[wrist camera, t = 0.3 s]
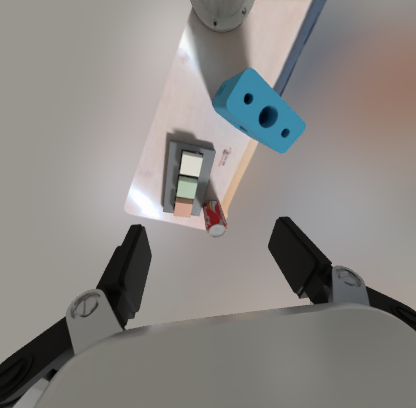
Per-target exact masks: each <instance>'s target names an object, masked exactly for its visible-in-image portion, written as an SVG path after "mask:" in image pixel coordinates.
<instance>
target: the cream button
mask: <svg viewBox="0 0 416 408" xmlns="http://www.w3.org/2000/svg"><path fill="white" fill-rule="evenodd" d="M202 160H203V157H202V155H200V154H195V153H190V152H185V151H183V155H182V162H181V169H180V174H186V175H191V176H197V177H199V174H200V169H201V165H202Z"/></svg>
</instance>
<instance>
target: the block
mask: <svg viewBox="0 0 416 408" xmlns="http://www.w3.org/2000/svg"><path fill="white" fill-rule="evenodd" d="M212 105H213V107H214V109H215V111H216V112H217V113H218V114H219V115H221V116H222V117H223V118H224V119H226V120H227V121H228V122H229V123H231V124H232V125H233V126H234V127H236V128H237V129H239V130H240V131H242V132H243V133H245V134H246V135H248V136H250V137H251V138H253V139H255V140H257V141H259V142H260V143H262V144H264V145H266V146H268V147H270V148H271V149H273V150H275V151H277V152H279V153H284V152H286V151H287V150H288V149H289V148H290V147H291V146H292V144H293V143H294V142H295V141H296V140H297V139H298V137H299V136H300V135H301V134H302V133H303V132H304V130H305V123H304V121H303V120H302V119H301V118H300V117H299V116H298V115H297V114H296V113H295V112H294V111H293V110H292V109H291V108H290V107H289V106H288V105H287V104H286V102H285V101H284V100H283V99H282V98H281V97H280V96H279V95H278V94H277V93H276V92H275V91H274V90H273V89H272V88H271V87H270V86H269V85H268V84H267V82H266V81H265V80H264V79H263V78H262V77H261V76H260V75H259V74H258V73H257V72H256V71H255V70H254V69H252V68H249V69H246V70H245V71H243V72H241V73H239V74H238V75H236V76H234V77H232V78H230V79H229V80H227V81H225V82H224V83H223V84H222V85H221V87H220V89H219V91H218V92H217V94H216V96H215V98H214V99H213V102H212Z"/></svg>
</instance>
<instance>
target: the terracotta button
mask: <svg viewBox="0 0 416 408" xmlns="http://www.w3.org/2000/svg"><path fill="white" fill-rule="evenodd" d="M192 206H193V199H187V198H180V197H176V203H175V210H174V216H180V217H189V218H190V215H191V211H192Z"/></svg>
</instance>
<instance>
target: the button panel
mask: <svg viewBox="0 0 416 408" xmlns="http://www.w3.org/2000/svg"><path fill="white" fill-rule="evenodd" d="M182 149H185V150H189V151H194V152H199V153H203V154H202V157H203V160H202V165H201V169H200V174H199V177H197V176H193V177H197V188H196V192H195V197H194V199H193V206H192V211H191V215H194V216H199V215H200V211H201V207H202V204H203V200H204V196H205V192H206V188H207V184H208V180H209V176H210V172H211V169H212V165H213V161H214V157H215V153H216V151H215V150H213V149H209V148H204V147H200V146H195V145H190V144H186V143H181V142H177V141H172V140H170V146H169V156H168V166H167V177H166V187H165V197H164V208H163V212H168V213H174V210H175V207H174V201H175V195H177V189H176V187H177V179H178V174H180V169H181V168H179V165H180V158H181V151H182ZM181 175H186V174H181ZM187 176H191V175H187Z"/></svg>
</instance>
